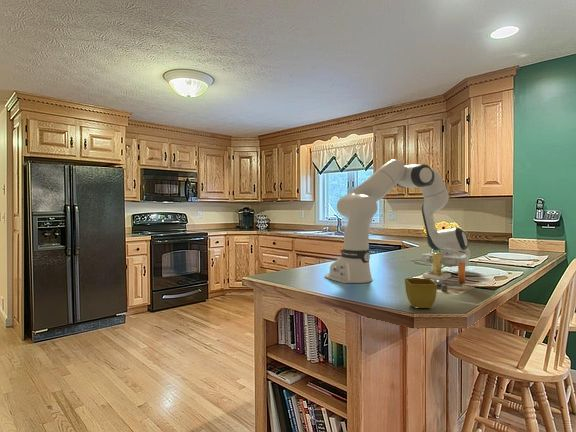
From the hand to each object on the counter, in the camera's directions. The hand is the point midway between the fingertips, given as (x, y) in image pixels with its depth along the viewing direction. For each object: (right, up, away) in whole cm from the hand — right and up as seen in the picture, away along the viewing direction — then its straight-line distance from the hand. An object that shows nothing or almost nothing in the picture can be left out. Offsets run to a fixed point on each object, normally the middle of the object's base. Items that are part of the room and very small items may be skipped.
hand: (437, 261), depth 163 cm
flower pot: (-23, -11, -41) cm, 48 cm away
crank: (-3, -7, -19) cm, 21 cm away
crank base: (-4, -9, -17) cm, 20 cm away
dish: (0, -8, +1) cm, 8 cm away
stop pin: (0, -7, +1) cm, 7 cm away
